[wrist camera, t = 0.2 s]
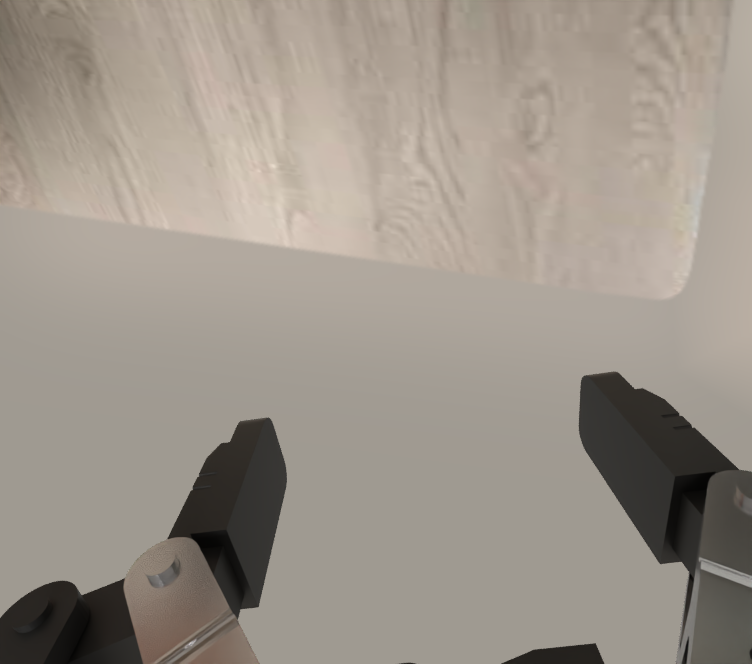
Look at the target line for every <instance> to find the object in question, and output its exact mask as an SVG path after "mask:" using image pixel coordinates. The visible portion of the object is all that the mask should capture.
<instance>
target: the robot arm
mask: <svg viewBox="0 0 752 664" xmlns="http://www.w3.org/2000/svg"><path fill="white" fill-rule="evenodd" d="M579 433H580V438H581V441H582V444H583V446H584V449H585V450H586V452H587V454H588V455H589V457H590V458H591V460H592V461H593V463H594V464H595V466H596V467H597V469H598V470H599V472H600V473H601V475H602V476H603V478H604V480H605V481H606V483H607V484H608V486H609V487H610V489H611V490H612V492H613V493H614V495H615V496H616V498H617V499H618V501H619V502H620V504H621V505H622V507H623V508H624V510H625V512H626V513H627V515H628V516H629V518H630V519H631V521H632V522H633V524H634V525H635V527H636V528H637V530H638V531H639V533H640V534H641V536H642V537H643V539H644V540H645V542H646V543H647V545H648V547H649V548H650V549H651V551H652V553H653V554H654V555H655V557H656V559H657V560H658V562H659V563H660V564H665V563H673V562H682V563H683V564H684V566H685V567H686V568H687V570H688V571H689V575H688V579H687V585H686V593H685V601H684V608H683V615H682V622H681V629H680V636H679V644H678V651H677V659H676V664H752V472H751V471H744V470H739V469H738V468H737V467H736V466H735V465H734V464H733V463H731V462H730V461H729V460H728V459H727V458H726V457H725V456H724V455H723V454H722V453H721V452H720V451H719V450H718V449H717V448H716V447H715V446H713V445H712V444H711V443H710V442H709V441H708V440H707V439H706V438H705V437H704V436H702V434H701V433H700V432H699V431H697V430H696V429H695V428H692V426H691V424H690V423H689V422H688V421H687V420H686V419H685V418H684V417H683V416H679V413H678V412H677V411H676V410H675V409H674V408H673V407H672V406H671V405H670V404H669V403H668V402H667V401H666V400H665V399H663V398H661V397H659V396H657V395H655V394H653V393H651V392H649V391H647V390H645V389H634V388H633V387H632V386H631V385H630V384H629V383H628V382H627V381H626V380H625V379H624V378H623V377H622V376H621V375H620V374H619V373H618V372H608V373H601V374H593V375H586V376H584V377H583V378H582V380H581V391H580V411H579ZM286 483H287V473H286V466H285V461H284V458H283V455H282V452H281V448H280V445H279V442H278V439H277V435H276V432H275V429H274V426H273V423H272V421H271V419H270V418H262V419H254V420H246V421H240V422H239V423H238V425H237V427H236V430H235V432H234V434H233V436H232V439H231V441H230V442H228V443H221V444H220V445H219V446H218V447H217V448H216V449H215V450H214V451H213V452H212V453H211V454H210V455H209V456H208V458H207V459H206V461H205V463H204V465H203V467H202V469H201V471H200V473H199V477H197V479H196V481H195V483H194V485H193V490H192V491H191V492H190V494H189V496H188V498H187V500H186V502H185V504H184V506H183V508H182V510H181V512H180V514H179V516H178V518H177V520H176V522H175V524H174V527H173V528H172V531H171V533H170V535H169V537H168V539H167V540H165V541H163V542H160V543H158V544H156V545H155V546H153V547H151V548H150V549H148V550H147V551H146V552H145V553H143V554H142V555H141V556H140V557H139V558H138V559H137V560H136V561H135V562H134V564H133V565H132V566H131V568H130V569H129V572H128V573H127V575H126V578H124V579H122V580H120V581H117V582H115V583H112V584H110V585H107V586H105V587H102V588H100V589H97V590H94V591H92V592H90V593H87V594H84V595H81V594H80V592H79V591H78V589H77V588H76V586H75V585H74V584H73V583H71V582H68V581H56V582H52V583H49V584H46V585H43V586H41V587H39V588H37V589H35V590H33V591H31V592H30V593H28V594H27V595H25V596H24V597H22V598H21V599H20V600H18V601H17V602H16V603H15V604H14V605H12V606H11V607H10V608H9V609H8V610H7V611H6V612H5V613H4V614H3V615H2V617H1V618H0V664H259V662H258V660H257V658H256V656H255V654H254V652H253V650H252V648H251V646H250V644H249V642H248V640H247V638H246V636H245V634H244V632H243V630H242V628H241V626H240V624H239V622H238V617H239V613H240V609H247V608H255V607H259V603H260V598H261V594H262V590H263V585H264V580H265V576H266V572H267V568H268V563H269V559H270V555H271V550H272V546H273V541H274V537H275V533H276V529H277V524H278V520H279V515H280V511H281V506H282V503H283V498H284V494H285V490H286ZM401 664H414V663H401ZM502 664H604V662H603V660H602V657H601V655H600V653H599V650H598V648H597V646H596V644H585V645H576V646H566V647H556V648H547V649H537V650H532V651H530V652H528V653H525V654H523V655H521V656H519V657H516V658H514V659H511V660H509V661H507V662H504V663H502Z"/></svg>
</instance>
